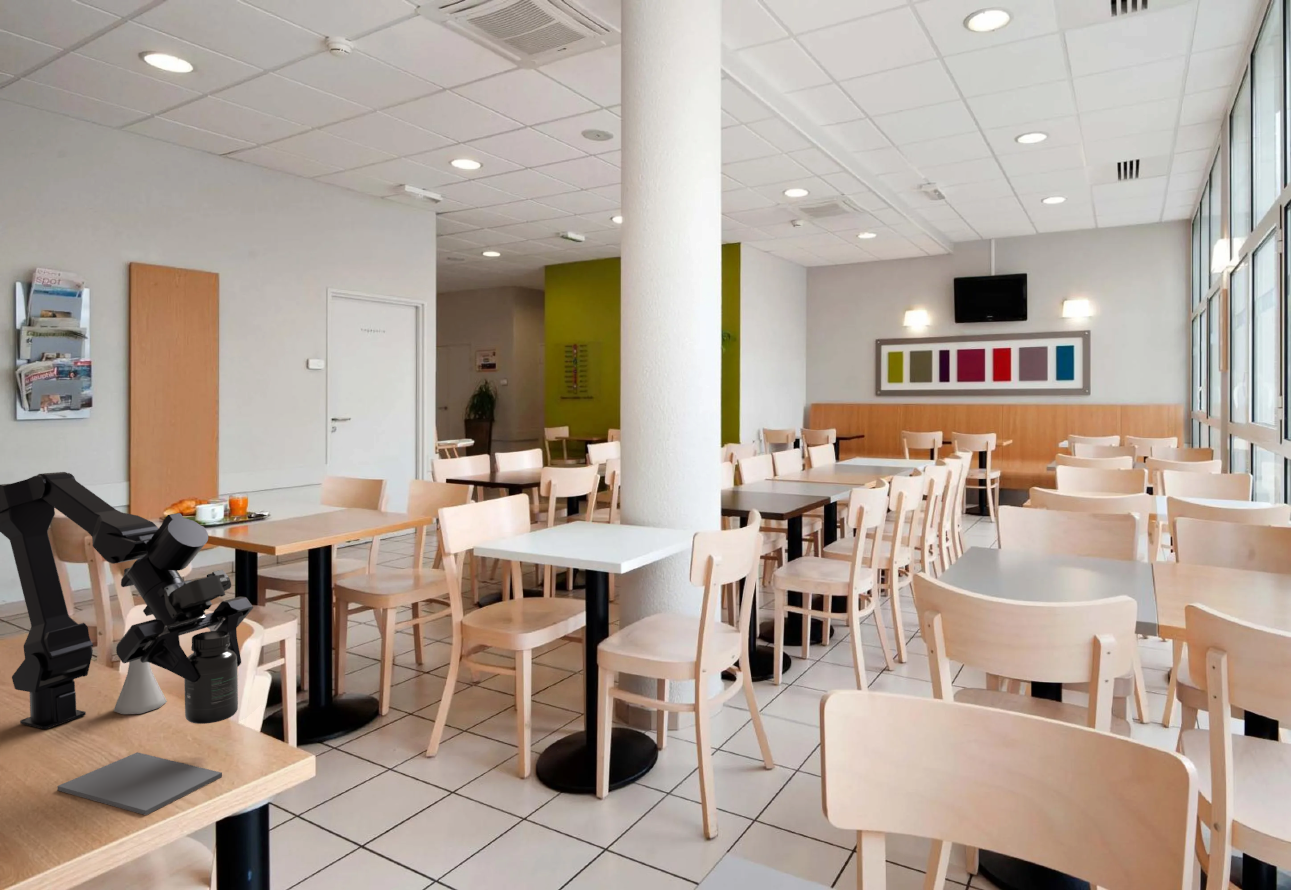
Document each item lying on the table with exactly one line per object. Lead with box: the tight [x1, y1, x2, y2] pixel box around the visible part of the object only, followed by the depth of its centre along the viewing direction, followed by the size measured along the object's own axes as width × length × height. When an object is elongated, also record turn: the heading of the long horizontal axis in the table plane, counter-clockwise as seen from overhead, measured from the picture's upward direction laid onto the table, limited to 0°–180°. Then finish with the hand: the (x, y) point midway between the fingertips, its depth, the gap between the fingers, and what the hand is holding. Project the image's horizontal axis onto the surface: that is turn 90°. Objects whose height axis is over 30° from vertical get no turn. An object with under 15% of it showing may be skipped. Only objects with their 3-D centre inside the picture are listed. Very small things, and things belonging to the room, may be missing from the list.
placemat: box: [56, 751, 223, 816], centre depth 107 cm, size 17×11×1 cm, turn 68°
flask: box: [113, 659, 168, 715], centre depth 134 cm, size 7×7×10 cm
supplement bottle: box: [183, 630, 239, 725], centre depth 116 cm, size 7×7×12 cm
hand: (218, 672), depth 116 cm, fingers closed on supplement bottle, 7 cm apart
